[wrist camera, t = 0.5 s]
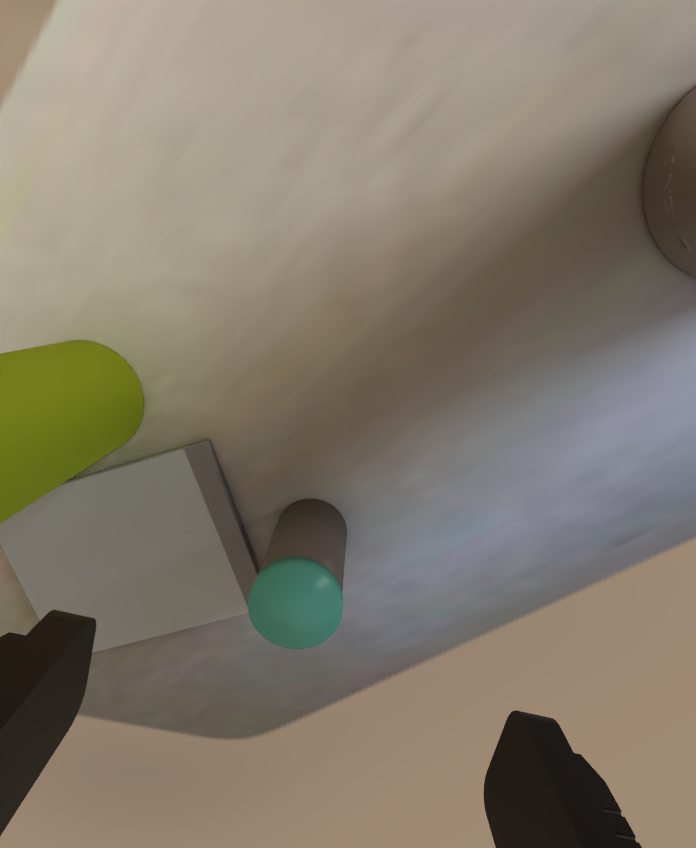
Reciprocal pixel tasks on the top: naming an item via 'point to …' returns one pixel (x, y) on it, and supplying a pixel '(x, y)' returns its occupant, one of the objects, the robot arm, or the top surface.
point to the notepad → (136, 548)
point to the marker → (301, 577)
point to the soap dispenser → (61, 416)
